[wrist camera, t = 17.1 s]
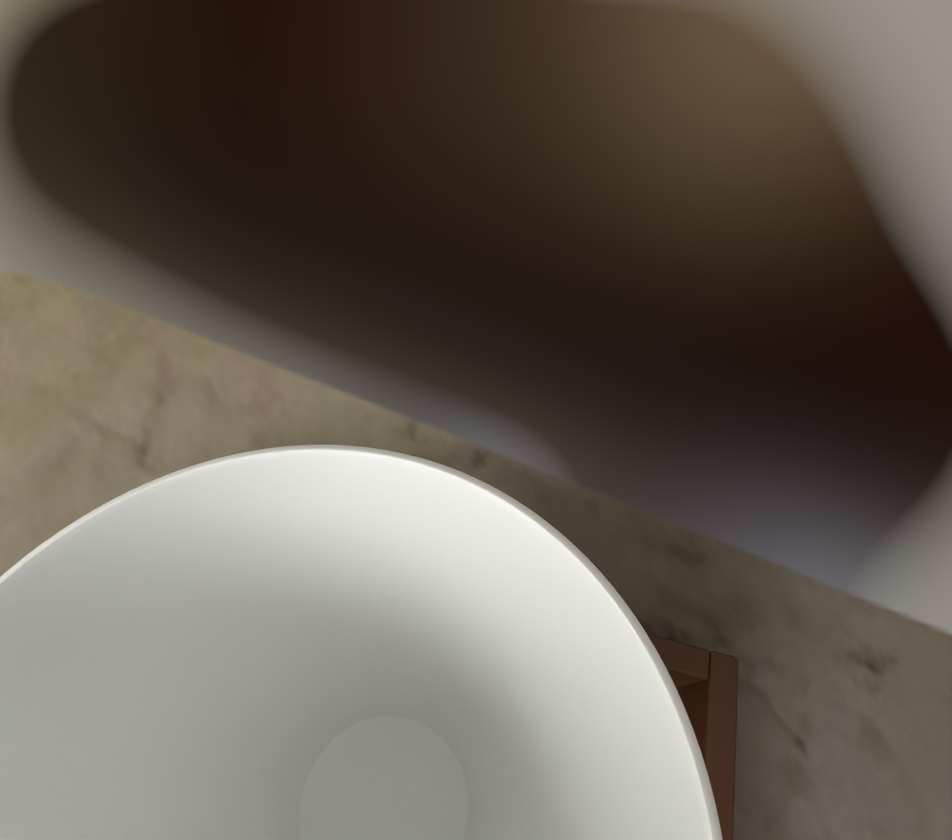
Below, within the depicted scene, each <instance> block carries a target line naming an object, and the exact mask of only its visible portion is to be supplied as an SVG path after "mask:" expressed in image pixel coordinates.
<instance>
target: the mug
mask: <svg viewBox="0 0 952 840" xmlns="http://www.w3.org/2000/svg"><path fill="white" fill-rule="evenodd" d="M0 840H723V839H722V833H721V828H720V823H719V818H718V814H717V809H716V804H715V800H714V796H713V792H712V788H711V784H710V780H709V777H708V773H707V770H706V767H705V763H704V760H703V757H702V753H701V750H700V747H699V745H698V742H697V739H696V736H695V733H694V730H693V728H692V725H691V723H690V720H689V717H688V715H687V712H686V710H685V707H684V705H683V703H682V701H681V698H680V696H679V694H678V691H677V689H676V687H675V685H674V683H673V681H672V679H671V677H670V675H669V673H668V671H667V669H666V667H665V665H664V663H663V661H662V659H661V658H660V656H659V654H658V652H657V650H656V649H655V647H654V645H653V644H652V642H651V640H650V639H649V637H648V635H647V634H646V632H645V630H644V629H643V627H642V626H641V624H640V623H639V621H638V620H637V618H636V617H635V615H634V614H633V613H632V611H631V610H630V608H629V607H628V606H627V604H626V603H625V601H624V600H623V599H622V597H621V596H620V595H619V594H618V592H617V591H616V590H615V589H614V587H613V586H612V585H611V584H610V582H609V581H608V580H607V579H606V578H605V577H604V575H603V574H602V573H601V572H600V571H599V570H598V569H597V568H596V567H595V566H594V564H593V563H592V562H591V561H590V560H589V559H588V558H587V557H586V556H585V555H584V554H583V553H582V552H581V551H580V550H579V549H578V548H577V547H576V546H575V545H574V544H572V543H571V542H570V541H569V540H568V539H567V538H566V537H565V536H564V535H562V534H561V533H560V532H559V531H558V530H556V529H555V528H554V527H553V526H552V525H550V524H549V523H548V522H547V521H545V520H544V519H543V518H541V517H540V516H539V515H537V514H536V513H534V512H533V511H532V510H530V509H529V508H527V507H526V506H524V505H523V504H521V503H520V502H518V501H517V500H515V499H513V498H512V497H510V496H508V495H507V494H505V493H503V492H501V491H500V490H498V489H496V488H494V487H492V486H491V485H489V484H487V483H484V482H482V481H480V480H478V479H476V478H474V477H472V476H470V475H467V474H465V473H463V472H460V471H458V470H455V469H453V468H450V467H447V466H445V465H442V464H439V463H436V462H433V461H430V460H426V459H423V458H419V457H415V456H411V455H407V454H403V453H398V452H393V451H388V450H382V449H375V448H368V447H359V446H346V445H298V446H284V447H276V448H267V449H261V450H255V451H249V452H244V453H239V454H234V455H230V456H225V457H221V458H217V459H214V460H210V461H207V462H203V463H200V464H196V465H193V466H190V467H187V468H184V469H181V470H179V471H176V472H173V473H170V474H168V475H165V476H163V477H160V478H158V479H155V480H153V481H151V482H148V483H146V484H144V485H142V486H139V487H137V488H135V489H133V490H131V491H129V492H127V493H125V494H123V495H121V496H119V497H117V498H115V499H113V500H111V501H109V502H107V503H106V504H104V505H102V506H100V507H98V508H96V509H95V510H93V511H91V512H90V513H88V514H86V515H85V516H83V517H81V518H80V519H78V520H76V521H75V522H73V523H72V524H70V525H69V526H67V527H66V528H64V529H63V530H61V531H60V532H58V533H57V534H55V535H54V536H52V537H51V538H50V539H48V540H47V541H45V542H44V543H42V544H41V545H40V546H38V547H37V548H36V549H34V550H33V551H32V552H30V553H29V554H28V555H26V556H25V557H24V558H23V559H21V560H20V561H19V562H18V563H17V564H15V565H14V566H13V567H12V568H10V569H9V570H8V571H7V572H6V573H4V574H3V575H2V576H1V577H0Z"/></svg>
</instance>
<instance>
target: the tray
mask: <svg viewBox="0 0 952 840" xmlns="http://www.w3.org/2000/svg"><path fill="white" fill-rule="evenodd" d="M647 635H648V637H649V639H650V640H651V642H652V644H653V645H654V647H655V649H656V650H657V652H658V654H659V656H660V658H661V659H662V661H663V663H664V665H665V667H666V669H667V671H668V673H669V675H670V677H671V679H672V681H673V683H674V685H675V687H676V689H677V691H678V694H679V696H680V698H681V701H682V703H683V705H684V707H685V710H686V712H687V715H688V717H689V720H690V723H691V725H692V728H693V730H694V733H695V736H696V739H697V742H698V745H699V747H700V750H701V753H702V757H703V760H704V763H705V767H706V770H707V773H708V777H709V780H710V784H711V788H712V792H713V796H714V800H715V804H716V809H717V814H718V818H719V823H720V828H721V833H722V839H723V840H733V822H734V788H735V755H736V721H737V688H738V659H737V658H735V657H733V656H729V655H725V654H721V653H718V652H714V651H713V652H709V651H708V650H706V649H702V648H699V647H695V646H691V645H687V644H684V643H680V642H676V641H672V640H669V639H665V638H661V637H657V636H654V635H650V634H647Z"/></svg>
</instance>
